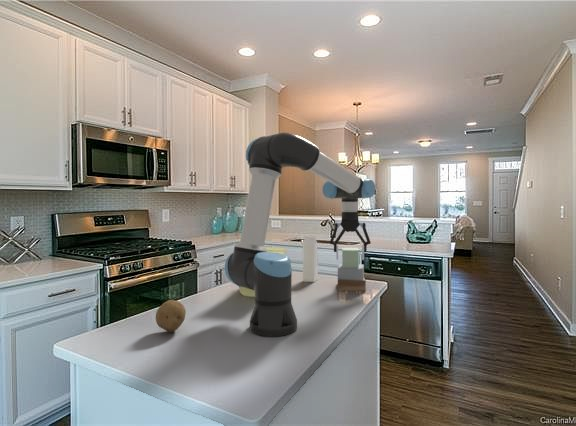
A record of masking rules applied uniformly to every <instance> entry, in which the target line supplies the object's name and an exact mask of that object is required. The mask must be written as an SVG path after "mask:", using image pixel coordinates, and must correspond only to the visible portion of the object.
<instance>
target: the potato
mask: <svg viewBox="0 0 576 426" xmlns="http://www.w3.org/2000/svg"><path fill="white" fill-rule="evenodd" d="M185 317H186V307H185V306H184V304H182V303H181V302H180V301H179V300H175V299H169V300H167V301H165V302H163V303H162V304H161V305H160V306H159V307H158V309H157V311H156V313H155V322H156V324H157V326H158V327H159V328H160V329H162V330H164V331H166V332H168V333H173V332H176V330H178V329H179V328H180V327H181V326H182V324H183V322H184V320H185Z"/></svg>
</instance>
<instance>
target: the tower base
mask: <svg viewBox="0 0 576 426" xmlns="http://www.w3.org/2000/svg"><path fill="white" fill-rule="evenodd" d="M366 285H367V282H366V279H365V276H364V277H363V280H342V279H338V278H337V290H338V291H341V292H342V291H343V292H345V291H347V292H366V290H367V289H366V288H367V287H366Z"/></svg>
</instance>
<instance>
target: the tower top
mask: <svg viewBox="0 0 576 426" xmlns="http://www.w3.org/2000/svg"><path fill="white" fill-rule="evenodd" d="M363 277H364V278H365V264H359V268H343V266H342V263H339V265H338V267H337V280H338V279H342V280H363Z"/></svg>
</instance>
